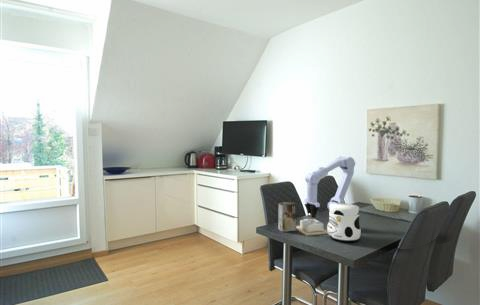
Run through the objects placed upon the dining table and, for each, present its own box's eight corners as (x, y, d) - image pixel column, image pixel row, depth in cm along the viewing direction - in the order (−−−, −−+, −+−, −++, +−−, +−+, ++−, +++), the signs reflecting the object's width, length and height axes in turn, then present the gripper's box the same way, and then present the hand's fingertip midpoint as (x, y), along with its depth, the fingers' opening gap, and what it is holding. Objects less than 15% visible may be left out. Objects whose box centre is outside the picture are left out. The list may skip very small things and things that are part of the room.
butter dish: (316, 225, 194) (316, 217, 193) (331, 233, 177) (331, 224, 177) (292, 227, 189) (293, 219, 189) (306, 235, 173) (306, 226, 173)
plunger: (313, 221, 187) (314, 211, 187) (320, 224, 180) (320, 214, 180) (303, 222, 185) (303, 212, 185) (309, 225, 179) (309, 215, 178)
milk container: (321, 238, 168) (321, 205, 167) (336, 231, 180) (337, 201, 179) (351, 246, 156) (352, 211, 155) (365, 238, 168) (366, 206, 167)
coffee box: (291, 227, 187) (292, 201, 187) (296, 230, 181) (296, 204, 181) (277, 228, 185) (278, 202, 184) (282, 232, 179) (282, 204, 178)
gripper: (300, 192, 188) (300, 214, 189) (312, 196, 174) (311, 220, 175) (310, 191, 190) (310, 213, 191) (323, 195, 176) (322, 219, 177)
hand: (311, 216), depth 183 cm, fingers closed on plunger, 4 cm apart
